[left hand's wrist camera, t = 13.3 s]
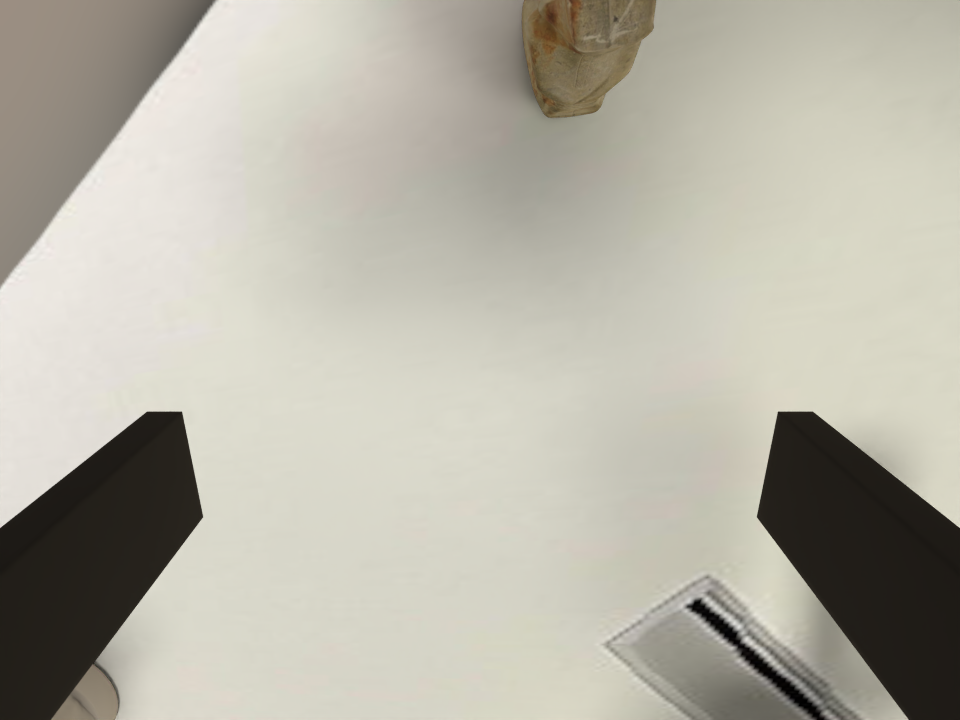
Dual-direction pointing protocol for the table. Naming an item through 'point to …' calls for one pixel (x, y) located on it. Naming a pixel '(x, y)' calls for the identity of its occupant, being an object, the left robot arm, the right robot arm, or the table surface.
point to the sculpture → (581, 49)
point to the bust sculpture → (90, 699)
